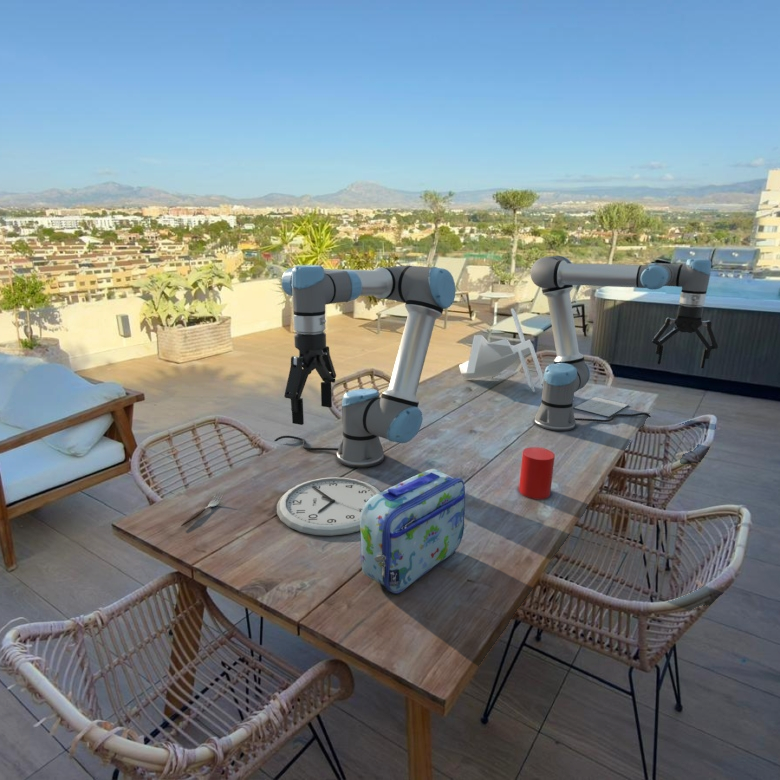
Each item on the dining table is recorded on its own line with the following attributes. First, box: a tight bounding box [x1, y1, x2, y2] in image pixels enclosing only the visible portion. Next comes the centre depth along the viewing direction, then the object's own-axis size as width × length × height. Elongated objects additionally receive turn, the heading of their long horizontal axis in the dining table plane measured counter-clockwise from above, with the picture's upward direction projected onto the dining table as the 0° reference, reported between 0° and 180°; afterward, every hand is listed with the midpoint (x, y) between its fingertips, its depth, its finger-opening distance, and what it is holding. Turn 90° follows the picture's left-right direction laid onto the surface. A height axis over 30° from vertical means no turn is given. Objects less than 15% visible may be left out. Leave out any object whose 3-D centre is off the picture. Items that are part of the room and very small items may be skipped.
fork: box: [180, 491, 225, 527], centre depth 138 cm, size 3×16×2 cm, turn 160°
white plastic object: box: [458, 307, 544, 393], centre depth 255 cm, size 37×45×31 cm
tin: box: [518, 446, 556, 500], centre depth 150 cm, size 9×9×12 cm
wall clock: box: [276, 476, 382, 537], centre depth 142 cm, size 30×2×30 cm
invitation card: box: [573, 396, 629, 418], centre depth 226 cm, size 21×1×15 cm
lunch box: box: [359, 468, 466, 594], centre depth 114 cm, size 26×11×21 cm, turn 134°
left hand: (313, 414), depth 132 cm, fingers open, 13 cm apart
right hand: (679, 365), depth 185 cm, fingers open, 13 cm apart
